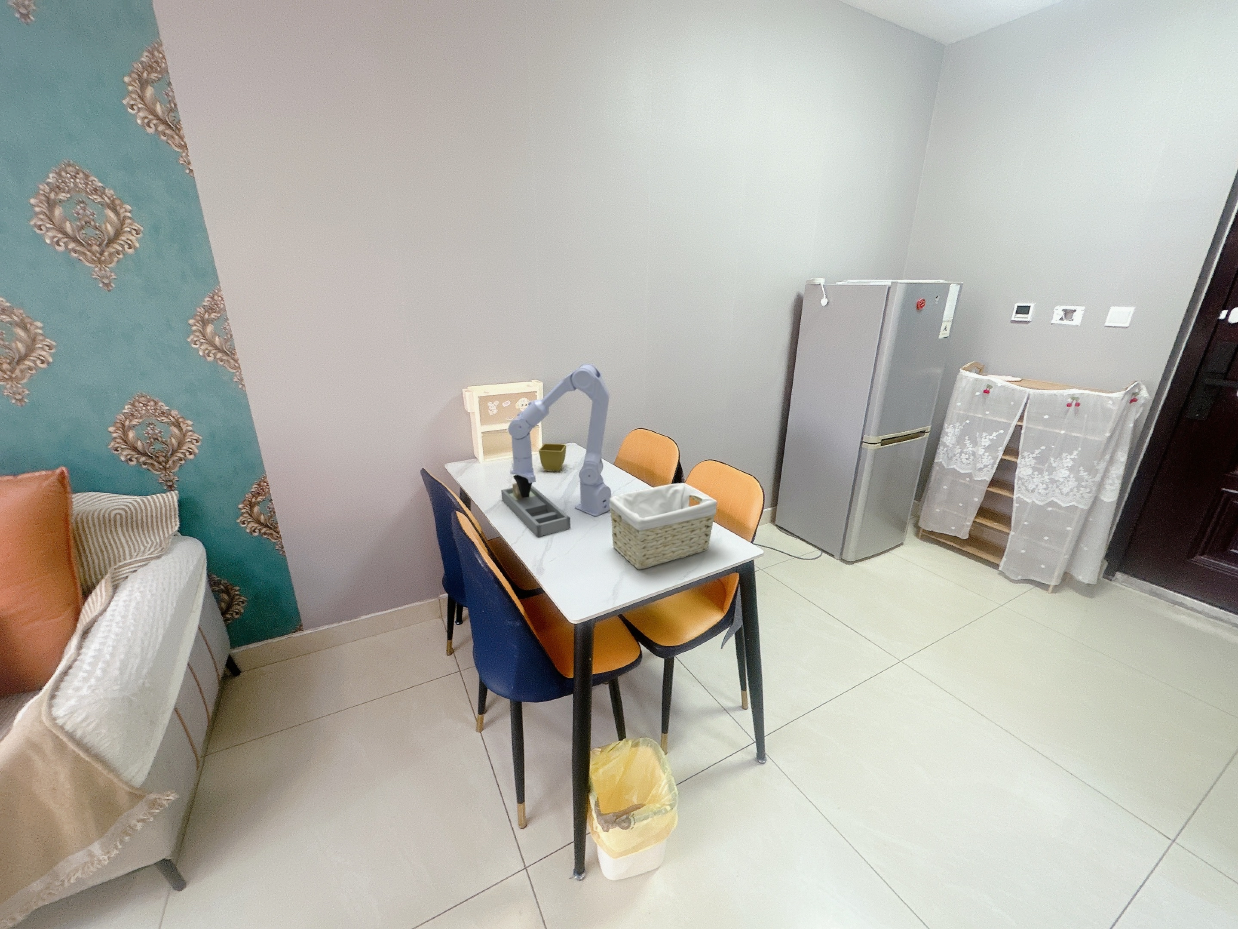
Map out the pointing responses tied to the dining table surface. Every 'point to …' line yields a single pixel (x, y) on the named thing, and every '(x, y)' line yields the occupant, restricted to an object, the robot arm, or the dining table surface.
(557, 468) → the flower pot
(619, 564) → the dining table surface
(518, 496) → the maple block
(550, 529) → the box
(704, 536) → the storage basket
